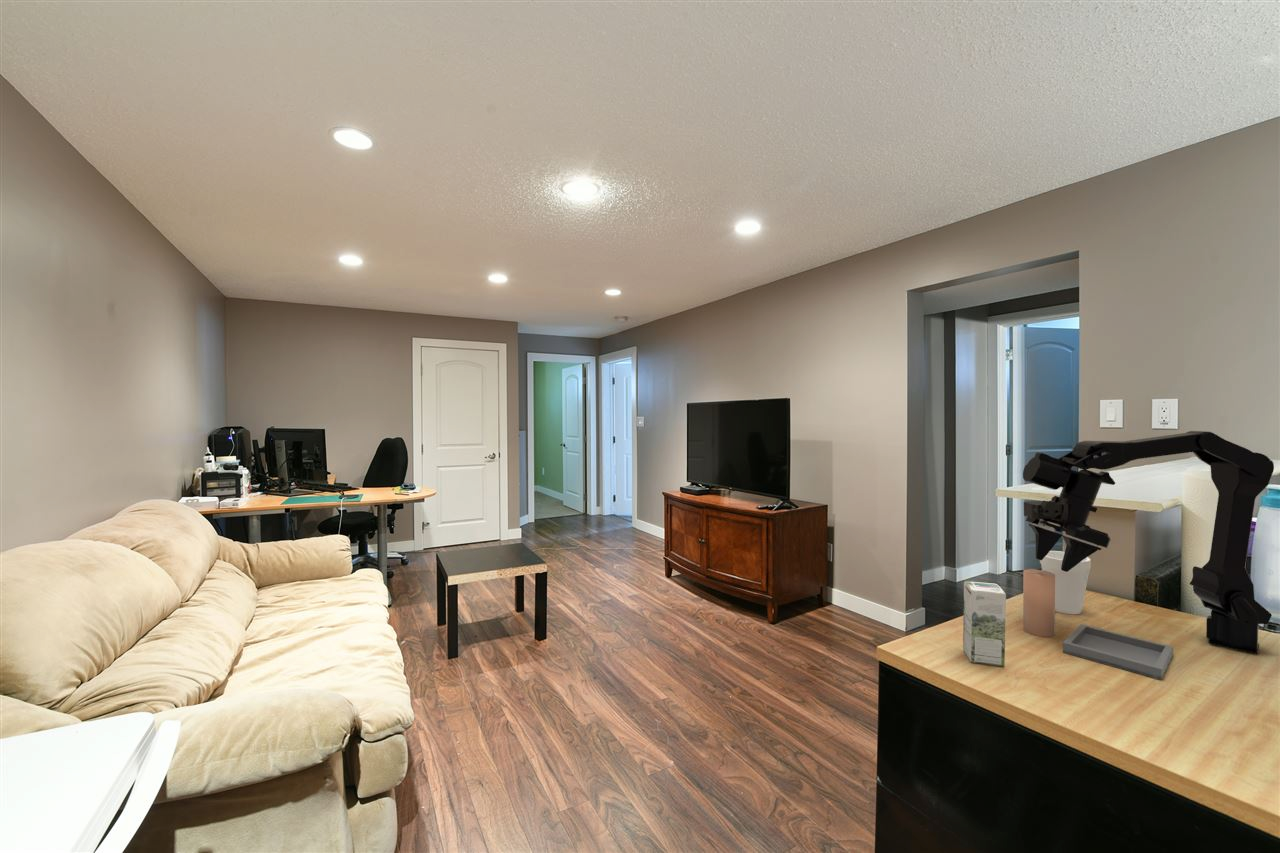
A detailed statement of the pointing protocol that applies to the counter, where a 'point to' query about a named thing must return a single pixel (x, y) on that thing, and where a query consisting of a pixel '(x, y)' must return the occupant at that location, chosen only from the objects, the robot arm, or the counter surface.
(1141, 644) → the tray
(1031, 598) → the peach rounded cylinder
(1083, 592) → the foam cup
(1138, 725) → the counter surface
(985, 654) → the syrup box
